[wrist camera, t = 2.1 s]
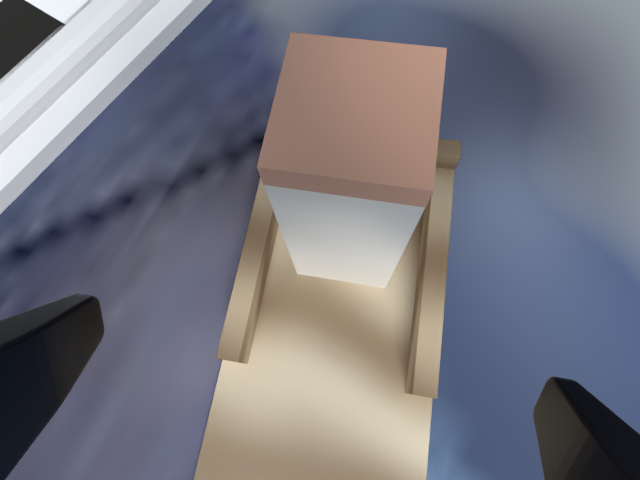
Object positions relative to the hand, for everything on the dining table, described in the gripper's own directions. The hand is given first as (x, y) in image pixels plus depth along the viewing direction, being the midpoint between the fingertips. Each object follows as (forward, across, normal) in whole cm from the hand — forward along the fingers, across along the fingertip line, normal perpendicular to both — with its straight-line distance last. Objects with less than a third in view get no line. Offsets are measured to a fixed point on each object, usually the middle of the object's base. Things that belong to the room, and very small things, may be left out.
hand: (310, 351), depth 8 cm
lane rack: (+10, 0, +8) cm, 12 cm away
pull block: (+13, 0, +4) cm, 14 cm away
